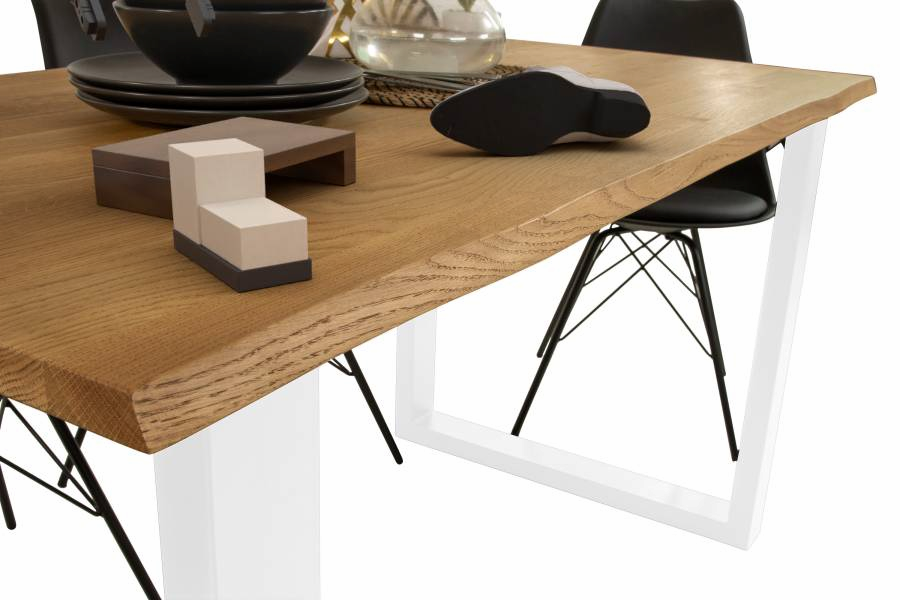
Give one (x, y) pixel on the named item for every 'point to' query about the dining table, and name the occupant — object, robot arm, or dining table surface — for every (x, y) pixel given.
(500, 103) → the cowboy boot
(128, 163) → the shoe shelf
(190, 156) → the trainer
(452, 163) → the dining table surface
